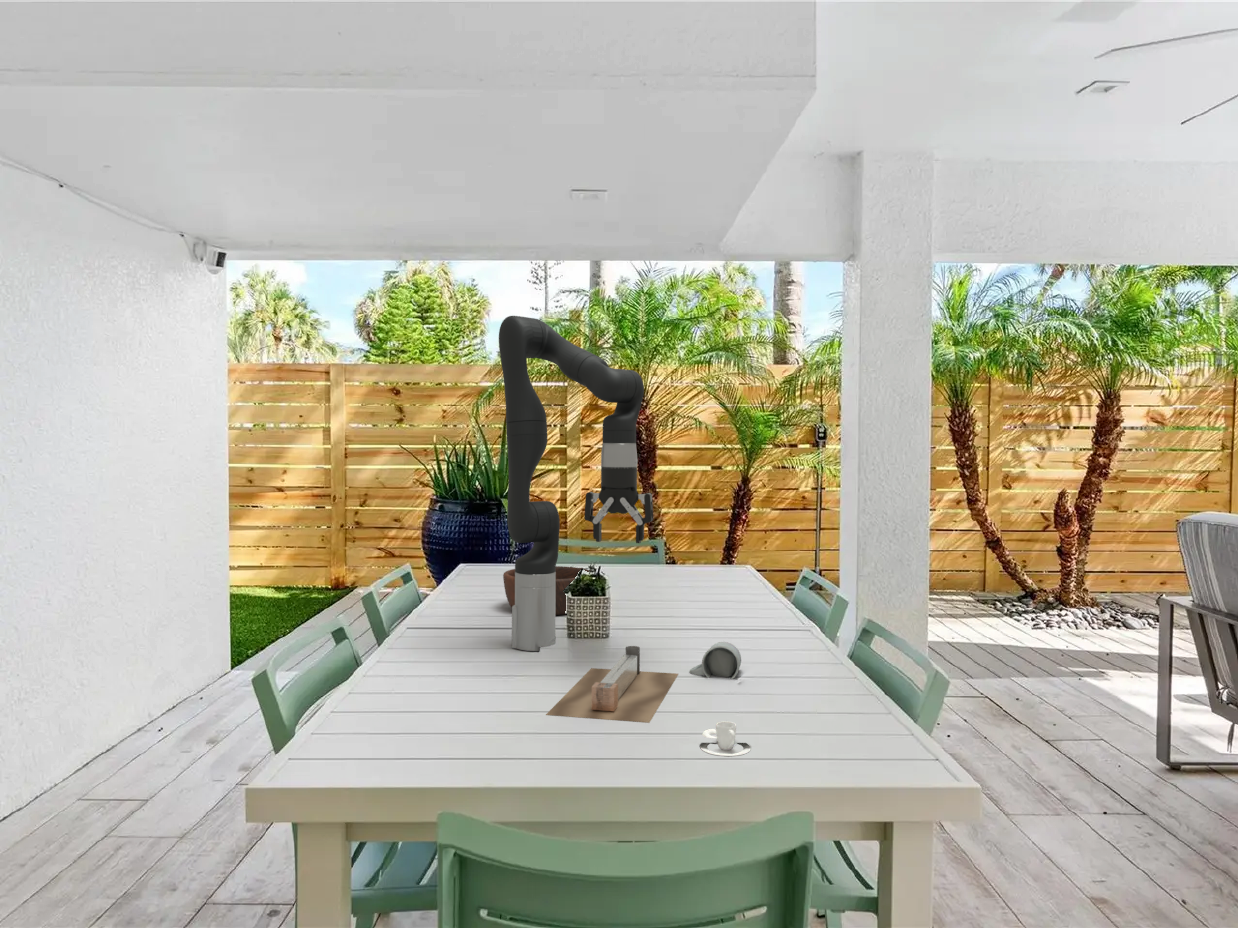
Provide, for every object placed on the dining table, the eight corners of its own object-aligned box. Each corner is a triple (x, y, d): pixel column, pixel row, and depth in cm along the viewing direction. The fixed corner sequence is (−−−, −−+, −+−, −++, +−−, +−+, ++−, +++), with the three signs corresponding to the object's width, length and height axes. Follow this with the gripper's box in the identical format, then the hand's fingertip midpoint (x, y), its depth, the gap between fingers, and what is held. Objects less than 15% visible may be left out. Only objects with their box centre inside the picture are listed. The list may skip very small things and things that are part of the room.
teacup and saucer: (697, 739, 151) (698, 714, 151) (747, 740, 151) (747, 715, 151) (701, 758, 143) (701, 732, 142) (753, 759, 142) (753, 733, 142)
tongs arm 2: (631, 674, 185) (631, 654, 184) (640, 675, 184) (641, 655, 184) (602, 710, 161) (602, 687, 161) (614, 711, 161) (614, 688, 161)
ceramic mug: (742, 674, 190) (741, 638, 190) (739, 684, 182) (738, 647, 182) (692, 672, 192) (691, 636, 192) (687, 682, 185) (686, 645, 184)
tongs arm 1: (620, 674, 185) (620, 654, 185) (630, 674, 185) (630, 654, 184) (591, 709, 162) (591, 686, 161) (602, 710, 161) (602, 687, 161)
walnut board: (545, 720, 159) (545, 684, 159) (591, 672, 190) (591, 642, 190) (649, 728, 155) (649, 691, 155) (678, 678, 187) (678, 647, 186)
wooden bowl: (611, 607, 262) (611, 570, 261) (558, 622, 241) (558, 582, 240) (540, 597, 275) (540, 563, 275) (484, 611, 254) (484, 574, 254)
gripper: (581, 465, 193) (581, 543, 193) (649, 466, 190) (648, 545, 190) (590, 463, 200) (590, 539, 201) (655, 464, 197) (655, 541, 198)
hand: (618, 542), depth 195 cm, fingers open, 8 cm apart
